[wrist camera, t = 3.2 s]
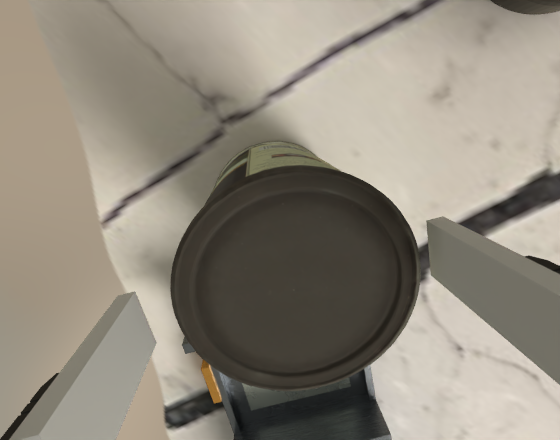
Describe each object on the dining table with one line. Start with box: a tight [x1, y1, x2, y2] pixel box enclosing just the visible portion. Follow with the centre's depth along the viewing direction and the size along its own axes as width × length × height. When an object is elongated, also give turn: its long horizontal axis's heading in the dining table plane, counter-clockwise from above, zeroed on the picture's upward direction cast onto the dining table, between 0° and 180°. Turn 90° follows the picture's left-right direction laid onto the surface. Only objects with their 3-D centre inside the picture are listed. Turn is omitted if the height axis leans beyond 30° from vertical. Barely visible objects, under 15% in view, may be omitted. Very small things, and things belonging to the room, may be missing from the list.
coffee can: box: [171, 142, 421, 391], centre depth 20 cm, size 10×10×14 cm
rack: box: [182, 337, 392, 440], centre depth 30 cm, size 28×15×6 cm, turn 12°
